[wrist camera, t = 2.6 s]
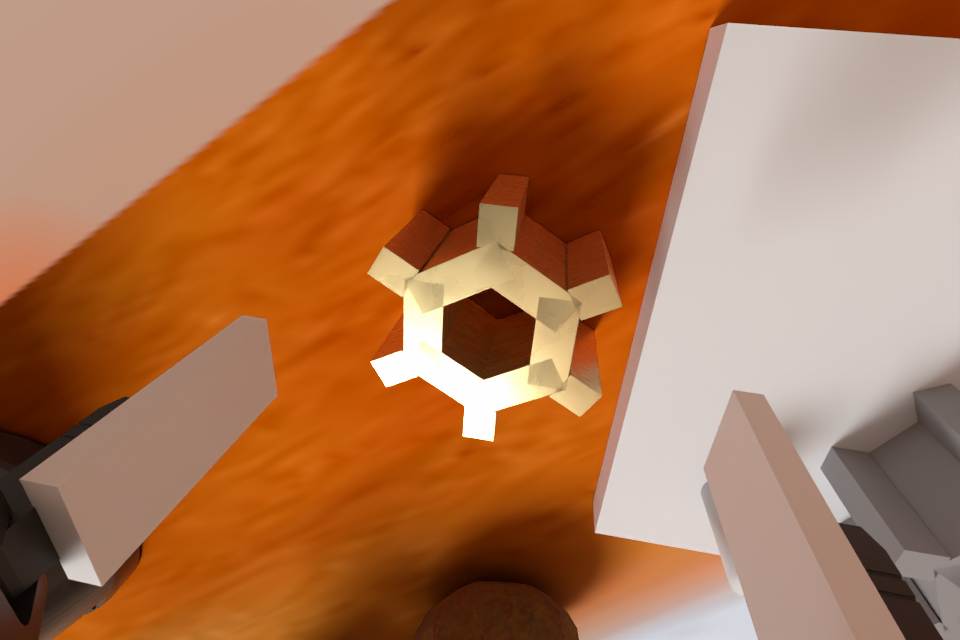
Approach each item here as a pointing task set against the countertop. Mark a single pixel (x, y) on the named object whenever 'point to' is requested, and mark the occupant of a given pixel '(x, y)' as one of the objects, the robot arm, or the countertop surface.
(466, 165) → the countertop surface
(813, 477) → the gear board
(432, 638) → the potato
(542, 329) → the brass gear
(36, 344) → the countertop surface
